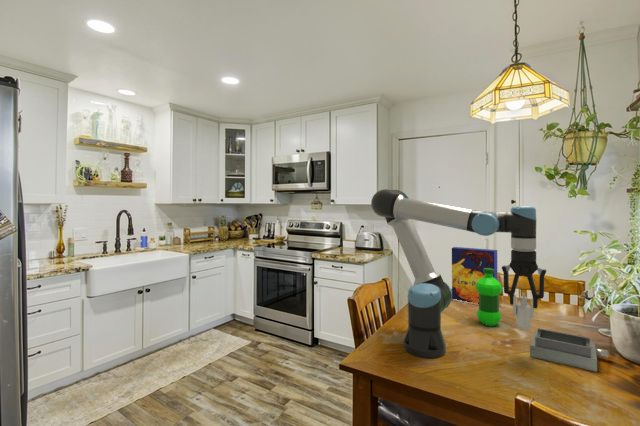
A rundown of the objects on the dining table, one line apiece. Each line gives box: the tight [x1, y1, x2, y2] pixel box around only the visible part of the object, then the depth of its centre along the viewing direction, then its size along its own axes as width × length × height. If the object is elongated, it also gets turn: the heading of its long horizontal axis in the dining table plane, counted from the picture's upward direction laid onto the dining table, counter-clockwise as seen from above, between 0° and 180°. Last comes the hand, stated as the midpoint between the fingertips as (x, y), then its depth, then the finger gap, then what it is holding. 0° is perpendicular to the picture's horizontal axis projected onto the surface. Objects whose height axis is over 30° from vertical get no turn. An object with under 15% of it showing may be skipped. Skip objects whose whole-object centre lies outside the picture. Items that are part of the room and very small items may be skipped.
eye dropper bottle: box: [515, 292, 532, 331], centre depth 114 cm, size 4×6×12 cm
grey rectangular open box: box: [529, 328, 610, 373], centre depth 113 cm, size 16×22×7 cm
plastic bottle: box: [476, 268, 503, 327], centre depth 145 cm, size 10×10×25 cm
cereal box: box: [451, 246, 498, 304], centre depth 177 cm, size 22×6×30 cm, turn 47°
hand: (523, 315), depth 114 cm, fingers closed on eye dropper bottle, 4 cm apart
